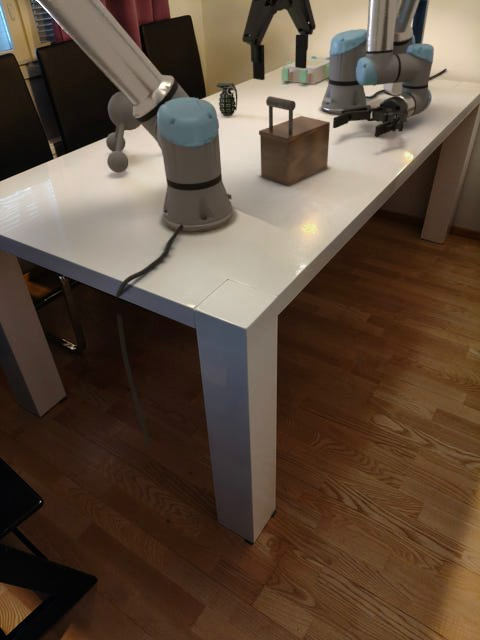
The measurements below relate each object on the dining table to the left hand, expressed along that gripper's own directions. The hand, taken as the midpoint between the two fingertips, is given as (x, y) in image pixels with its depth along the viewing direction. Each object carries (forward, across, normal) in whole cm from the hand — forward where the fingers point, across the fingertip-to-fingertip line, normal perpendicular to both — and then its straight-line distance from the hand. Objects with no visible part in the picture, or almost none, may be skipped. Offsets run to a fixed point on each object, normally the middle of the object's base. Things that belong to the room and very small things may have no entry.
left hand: (280, 73), depth 108 cm
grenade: (+24, -30, -52) cm, 65 cm away
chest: (+24, -5, 0) cm, 25 cm away
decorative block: (+24, -89, -66) cm, 113 cm away
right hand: (+18, -28, +1) cm, 34 cm away
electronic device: (+24, -91, -22) cm, 97 cm away
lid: (+14, -5, 0) cm, 15 cm away
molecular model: (+24, +14, -40) cm, 49 cm away
